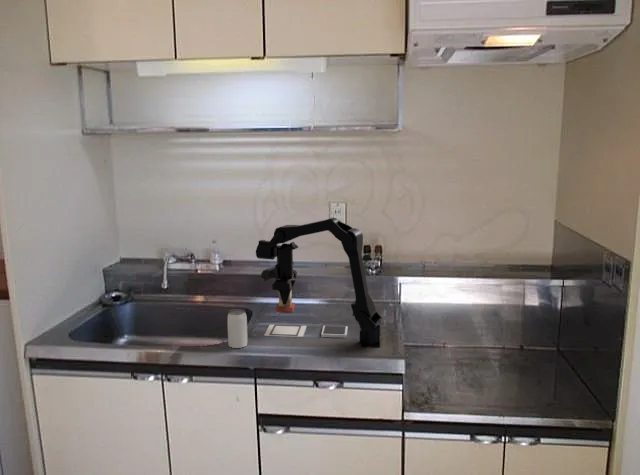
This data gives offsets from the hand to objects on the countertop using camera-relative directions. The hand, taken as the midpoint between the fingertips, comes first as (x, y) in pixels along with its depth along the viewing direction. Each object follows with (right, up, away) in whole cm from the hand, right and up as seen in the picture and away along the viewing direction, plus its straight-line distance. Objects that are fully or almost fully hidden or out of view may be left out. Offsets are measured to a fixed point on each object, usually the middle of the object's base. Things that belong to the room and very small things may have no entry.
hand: (285, 302), depth 187 cm
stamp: (0, -3, +1) cm, 3 cm away
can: (-16, -13, -11) cm, 23 cm away
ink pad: (+18, -11, 0) cm, 21 cm away
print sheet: (0, -11, +2) cm, 11 cm away
